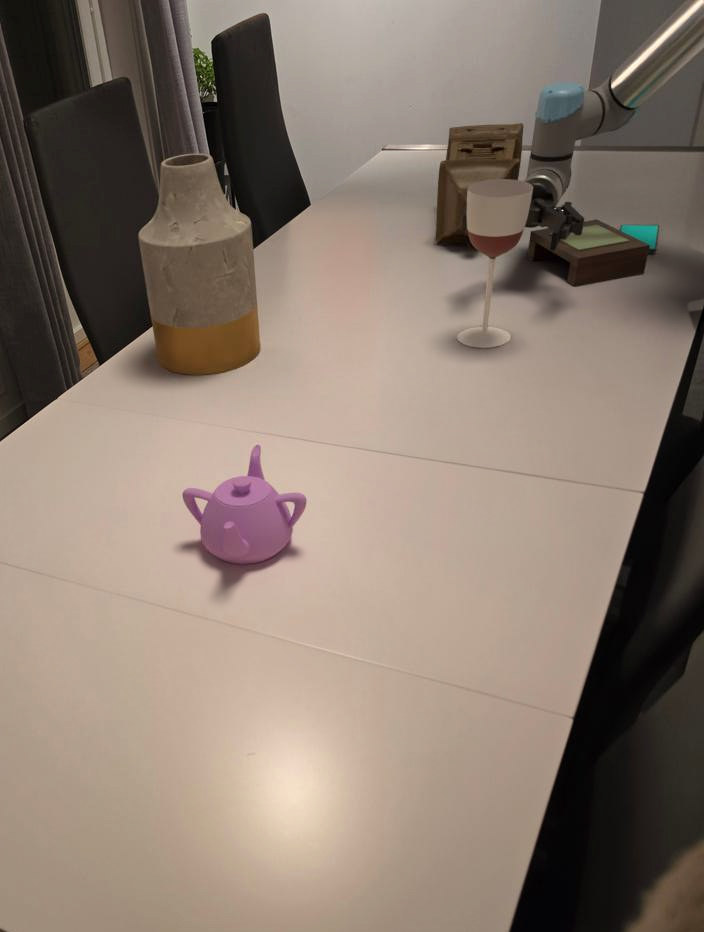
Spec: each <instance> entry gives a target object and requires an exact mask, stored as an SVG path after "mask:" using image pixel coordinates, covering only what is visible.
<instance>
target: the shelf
mask: <svg viewBox="0 0 704 932" xmlns="http://www.w3.org/2000/svg"><path fill="white" fill-rule="evenodd" d="M553 231H554V230H552V229H550V228H548V227H545V228H542V229H536V230H531V231H530V233H529V241H528V249H527V256H526V258H527V259H529V260H530V261H532V262H535V261H540V260H546V259H551V258H557V257H559V258H561V259H563V260H565V261H567V262H568V263H570V264H569V269H568V275H567V281H566V282H567V284H569V285H571V286H573V287H577V286H583V285H588V284H594V283H598V282H599V283H600V282H605V281H610V280H615V279H621V278H626V277H631V276H636V275H637V276H638V275H642V274H644V273H645V270H646V265H647V261H648V258H649V257H648V256H649V253H648V252H649V248H650V245H649V244H647V243H645V242H642V241H640V240H638V239H636V238H634V237H632V236H630V235H628V234H626V233H624V232H622V231H620V229H618V228H616V227H613V226H611V225H609V224H608V223H605V222H604V221H601V220H599V219H591V220H586V221H585V220H584V224H583V230H582V234H581V235H574V234H573V233H570V235H569V236H568V237H567V239H565V240H563V239H560V241H559V243H558V245H557V247H556V249H555V250H550V246H551V240H552V233H553Z"/></svg>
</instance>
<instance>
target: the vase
mask: <svg viewBox="0 0 704 932" xmlns="http://www.w3.org/2000/svg"><path fill="white" fill-rule="evenodd" d="M159 179H160V180H159V181H160V183H159V197H158V203H157V208H156V211H155V212H154V215H153V216H152V218H151V220H149V222H147V223H146V224H145V225H144V226H143V227H141V229H140V230H139V232H138V243H139V249H140V256H141V264H142V269H143V275H144V282H145V287H146V294H147V300H148V307H149V313H150V320H151V325H152V332H153V337H154V344H155V351H156V357H157V362H158V364H159V365H160V367H162V368H163V369H165V370H167V371H168V372H171V373H175V374H181V375H188V376H206V375H207V376H208V375H215V374H220V373H225V372H229V371H232V370H235V369H238V368H241V367H243V366H246V365H247V364H248V363H251V362H252V361H253V360H254V359H256V358H257V357H258V356H259V354H260V352H261V337H260V323H259V309H258V297H257V296H258V295H257V294H258V293H257V282H256V281H257V280H256V269H255V268H256V267H255V255H254V242H253V241H254V239H253V230H252V228H253V227H252V221H251V219H250V217H249V216H247V215H246V214H244V213H242V212H240V211H239V210H237V209H235V208H234V207H233V206H232V205H231V204H230V203H229V201H228V200H227V198H226V197H225V194H224V192H223V189H222V186H221V183H220V180H219V177H218V173H217V169H216V166H215V163H214V158H213V157H212V155H210V154H206V153H187V154H180V155H175V156H172V157H169V158H166V159H164V160H163V161H162V162H161V163H160V177H159Z"/></svg>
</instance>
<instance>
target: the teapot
mask: <svg viewBox="0 0 704 932" xmlns="http://www.w3.org/2000/svg"><path fill="white" fill-rule="evenodd" d="M261 448H262V447H261V445H260V444H256V445H254V447H253V448H252V450H251V453H250V458H249V465H248V470H247V475H240V476H239V475H238V476H235V477H231V478H229V479H227V480H226V479H225V480H224V481H223V482H221V483H220V484H219V485H218V486H216V488H215V490H214V491H213V492H210V491H207V490H204V489H200V488H196V487H187V488H185V489H184V490H183V491H182V494H181V495H182V500H183V503H184V505H185V507H186V508H187V510H188V512H190V514H191V515H192V516H193V518H194V519H195V520H196V521H197V523H198V524H199V525H200V527H199V532H200V540H201V543H202V544H203V546H204V547H205V549H206V550H207V551H208V552H209V553H210V554H212V555H213V556H215V557H217V558H218V559H220V560H222V561H224V562H227V563H231V564H238V565H249V564H256V563H261V562H264V561H267V560H269V559H271V558H273V557H274V556H276V555H278V553H279V552H281V551H282V550H283V549H284V548H285V547H286V546H287V545H288V543H289V542H290V540H291V537H292V535H293V532H294V526H295V525H296V523H297V522H298V521H299V520H300V518H301V516H302V515H303V514H304V511H305V510H306V508H307V497H306V495H305V494H303V493H301V492H287V493H281V494H280V493H279V492H278V491H277V490H276V489H275V488H274V487H273V485H272V484H270V482H268V481H266V479H265V476H264V472H263V469H262V464H261V463H262V462H261V453H262V449H261ZM196 499H201V500H204V501H207V502H206V505H205V507H204V509H203V512H202V511H201V510H200V508H199V506H198V504H197V501H196ZM286 503H293V506H294V508H293V512H292V514H291V512H290V510H289V507H288V505H287V504H286Z"/></svg>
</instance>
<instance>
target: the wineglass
mask: <svg viewBox="0 0 704 932" xmlns="http://www.w3.org/2000/svg"><path fill="white" fill-rule="evenodd" d="M532 192H533V186H532V185H531V184H529V183H527V182H524V181H523V180H519V179H518V180H510V179H495V180H486V181H481V182H477V183H474V184H472V185H470V186H469V187H468V191H467V229H468V235H469V239H470V241H471V243H472V245H471V246H472V247H474V248H475V249H476V250H477V251H479V252H480V253H481V254H483V255H485V256H486V257H488V258H489V259H488V270H487V279H486V287H485V296H484V297H485V298H484V307H483V315H482V326H477V327H476V326H475V327H470V328H467V329H465V330H462V331H461V332H460V333H458V335H457V341H458V342H460V343H461V344H463V345H465V346H468V347H473V348H482V349H486V348H495V347H499V346H500V347H501V346H503V345H505V344H507V343H508V342H509V341H510V340H511V338H512V337H511V334H510V333H509V332H507V331H506V330H504V329H503V328H502V329H501V328H499V327H493V326H489V318H490V309H491V301H492V290H493V282H494V272H495V263H496V258H498V257H499V256H502V255H504V254H506V253H508V252H509V251H511V250H512V249H514V248H515V247H516V246H517V244H518V243H519V242H520V241H521V238H522V236H523V233H524V231H525V228H526V227H525V225H526V221H527V217H528V213H529V208H530V203H531V198H532Z"/></svg>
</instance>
